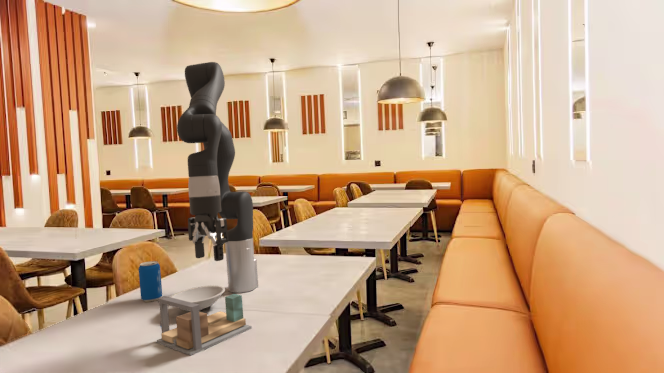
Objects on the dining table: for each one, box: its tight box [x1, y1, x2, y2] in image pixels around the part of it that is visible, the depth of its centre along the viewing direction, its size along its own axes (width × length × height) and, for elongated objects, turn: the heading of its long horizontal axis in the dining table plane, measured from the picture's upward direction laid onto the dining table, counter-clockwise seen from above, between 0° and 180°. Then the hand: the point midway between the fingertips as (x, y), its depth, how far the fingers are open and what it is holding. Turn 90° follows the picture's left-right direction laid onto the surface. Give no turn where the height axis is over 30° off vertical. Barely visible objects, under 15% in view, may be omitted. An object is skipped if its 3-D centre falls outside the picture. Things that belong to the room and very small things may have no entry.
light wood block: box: [207, 310, 227, 326], centre depth 114 cm, size 7×5×2 cm, turn 143°
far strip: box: [160, 327, 178, 343], centre depth 106 cm, size 8×5×2 cm, turn 143°
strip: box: [176, 293, 247, 349], centre depth 106 cm, size 17×5×8 cm, turn 143°
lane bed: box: [156, 295, 252, 356], centre depth 108 cm, size 18×14×11 cm
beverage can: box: [138, 260, 163, 303], centre depth 141 cm, size 6×6×12 cm
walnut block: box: [175, 311, 209, 342], centre depth 101 cm, size 5×5×5 cm
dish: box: [170, 284, 226, 312], centre depth 128 cm, size 18×14×5 cm
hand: (209, 259), depth 108 cm, fingers open, 8 cm apart
